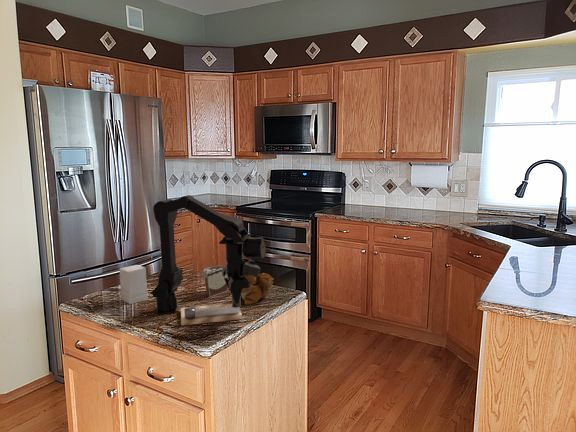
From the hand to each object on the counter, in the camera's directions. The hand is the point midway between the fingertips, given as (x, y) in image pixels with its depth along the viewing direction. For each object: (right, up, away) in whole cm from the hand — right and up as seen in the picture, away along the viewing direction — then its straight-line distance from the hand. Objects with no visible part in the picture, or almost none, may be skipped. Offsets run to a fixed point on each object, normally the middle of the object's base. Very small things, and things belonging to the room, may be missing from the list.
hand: (236, 301), depth 152 cm
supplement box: (-41, -3, +19) cm, 45 cm away
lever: (-7, -4, -2) cm, 9 cm away
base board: (-9, -5, +2) cm, 11 cm away
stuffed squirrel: (+5, -3, +18) cm, 19 cm away
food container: (-12, -2, +26) cm, 29 cm away
